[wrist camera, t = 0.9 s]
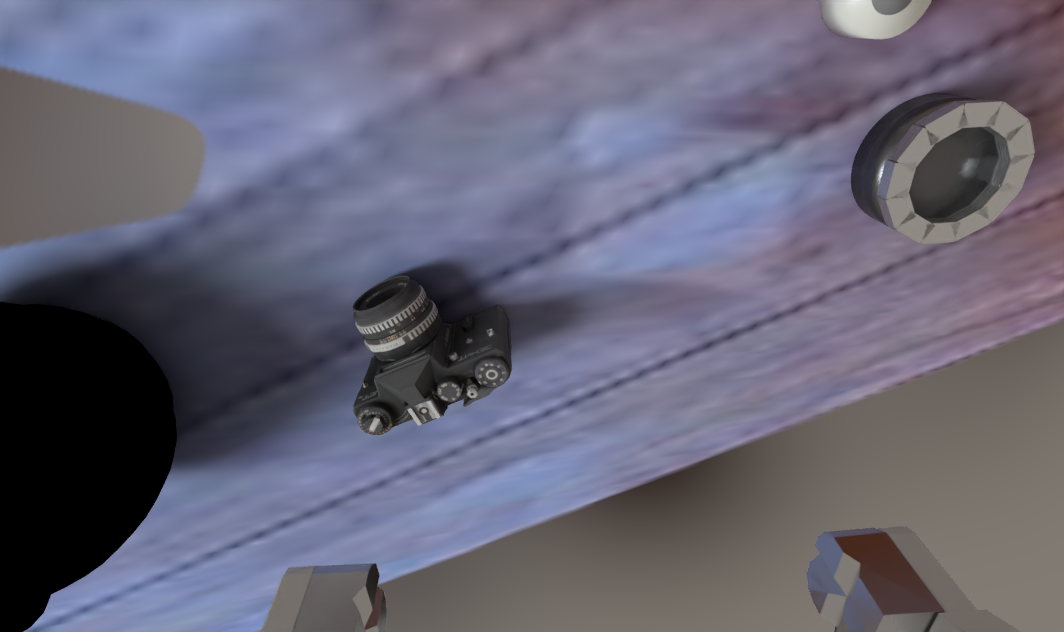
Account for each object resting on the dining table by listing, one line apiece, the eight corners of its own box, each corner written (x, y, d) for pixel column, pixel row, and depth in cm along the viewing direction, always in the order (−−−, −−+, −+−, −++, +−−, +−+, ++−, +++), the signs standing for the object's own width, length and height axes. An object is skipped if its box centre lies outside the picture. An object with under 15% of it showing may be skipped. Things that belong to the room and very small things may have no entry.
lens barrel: (868, 97, 45) (910, 106, 40) (1000, 89, 45) (1056, 98, 40) (838, 226, 50) (872, 247, 45) (956, 218, 50) (1002, 238, 46)
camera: (466, 238, 49) (459, 287, 40) (518, 333, 54) (522, 394, 45) (329, 301, 51) (294, 360, 42) (391, 386, 56) (372, 455, 47)
